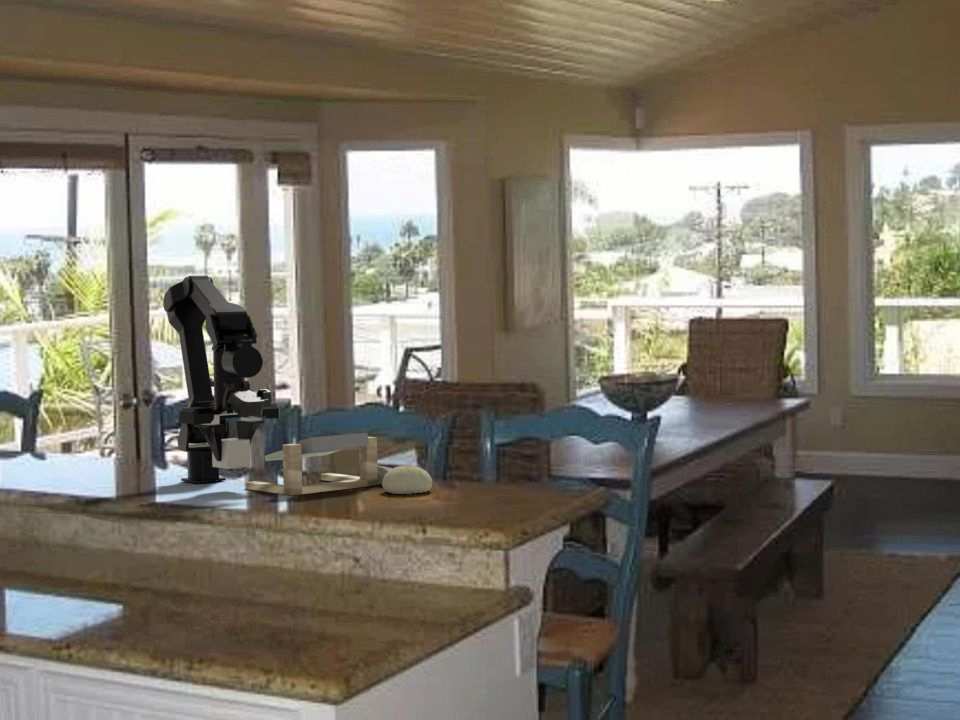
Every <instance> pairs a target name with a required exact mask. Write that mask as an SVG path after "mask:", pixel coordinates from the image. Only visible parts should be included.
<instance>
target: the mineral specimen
mask: <svg viewBox="0 0 960 720" xmlns="http://www.w3.org/2000/svg"><path fill="white" fill-rule="evenodd" d="M391 469H393V468H392V467H388V466H383V465H380V464H377V472H378V485H379V486H380V485H381V486H382V480H383V478H384V476H385V474H386V473H387V472H388V471H390V470H391Z"/></svg>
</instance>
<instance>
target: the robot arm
mask: <svg viewBox="0 0 960 720" xmlns="http://www.w3.org/2000/svg"><path fill="white" fill-rule="evenodd" d="M162 303H163V304H162V305H163V309H164V312H166V316H167V319H168V323H169V324H170V326H171V327H172V328H173V330H175V331H176V332H177V333H178V337H179V343H180V350H181V357H182V362H183V363H182V364H183V370H184V375H185V384H186V390H187V395H188V396H187V397H188V405H187V406H186V407H182V409H181V410H180V411H179V414H178V422H179V424H181V426H180V429H179V433H178V436H177V441H176V442H177V448H178V451H181V452H186V453H187V454H186V455H187V456H186V457H187V461H186V462H187V463H186V464H187V477H184V478H183V477H182V478H181V479H180V481H181V482H188V483H193V484H203V483H212V482H222V481H227V480H226V479H227V478H226V477H222V476H221V477H220V468H218V467H213V465H212V452H213V454H214V456H215V459H216V460H217V461H221V458H222V444H221V439H229V435H230V429H231V426H230V424H229V420H228V419H235V422H236V423H235V424H236V431H237V438H240V439H249V440H250V445H251V444H252V440H253V438H254V435H255V433H256V431H257V430H258V429H259V427H261V425H264V424H265V423H266V422H267V421H266V420H268V419H269V420H270V419H271V420H272V419H280V418H281V415H280V410H281V408H280V407H279V406H278V404H277V403H275V402H272V400H273V399H272V391H270V390H269V389H268V388H266V389H265V388H263V389H258V390H257V391H252V390H251V383H250V381H249V380H246V379H249V378H253V377H255V376H257V375H258V374H259V373H260V372H261V370H262V367H263V364H264V360H263V359H264V358H262V357H263V356H262V354H261V352H260V351H259V350H258V348H255V347H253V345H257V342H258V341H257V337H258V334H257V332H256V329H255V326H254V324H253V322H252V321H253V320H252V319H251V316H250V314H249V313H248V311H247V310H246V308H245V307H243V306H241V305H240V304H237V303H233V302H230V301H228V300H227V299H226V298H225V297H224V295H223V294H222V292H221V291H220V290H219V289H218V288H217V287H216V285H215V284H214V281H213V278H212V277H211V276H208V275H188V276H185V277H184V279H182V281H180V282H177V283H176V284H174V285H171V286H169V287H168V289H167V290H166V292H165V294H164V296H163V301H162ZM204 325H205V330H206V333H207V335H208V337H209V340H210V341H211V343H212V346H211V350H212V352H213V353H212V355H213V358H212V359H213V364H212V365H213V367H212V368H213V380H211V375H210V370H209V369H210V368H209V363H208V357H207V350H206V343H205V337H204V330H203V326H204ZM262 417H263V418H265V419H266V420H262ZM237 418H240V419H237ZM236 419H237V420H236ZM190 444H191V445H190ZM197 444H199V445H197Z"/></svg>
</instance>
